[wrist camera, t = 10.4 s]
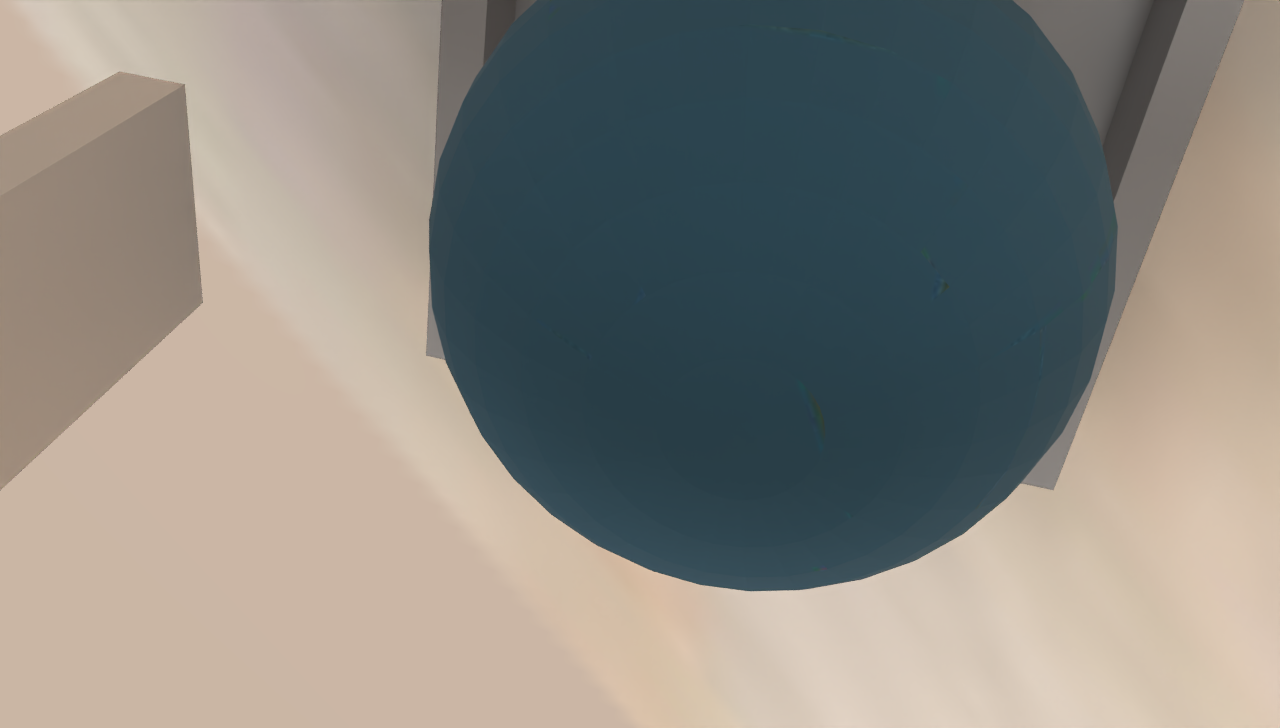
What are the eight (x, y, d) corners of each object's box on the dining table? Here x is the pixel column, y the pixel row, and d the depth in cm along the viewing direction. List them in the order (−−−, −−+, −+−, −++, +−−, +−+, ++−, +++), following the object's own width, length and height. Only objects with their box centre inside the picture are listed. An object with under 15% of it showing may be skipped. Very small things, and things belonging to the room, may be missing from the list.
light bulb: (507, 195, 24) (255, 588, 13) (648, -249, 19) (437, -173, 9) (894, 345, 24) (938, 838, 14) (1115, -57, 20) (1419, 223, 10)
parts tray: (505, -365, 20) (458, -372, 18) (1285, -245, 18) (1335, -236, 16) (464, 300, 26) (426, 355, 24) (1039, 421, 25) (1053, 490, 23)
